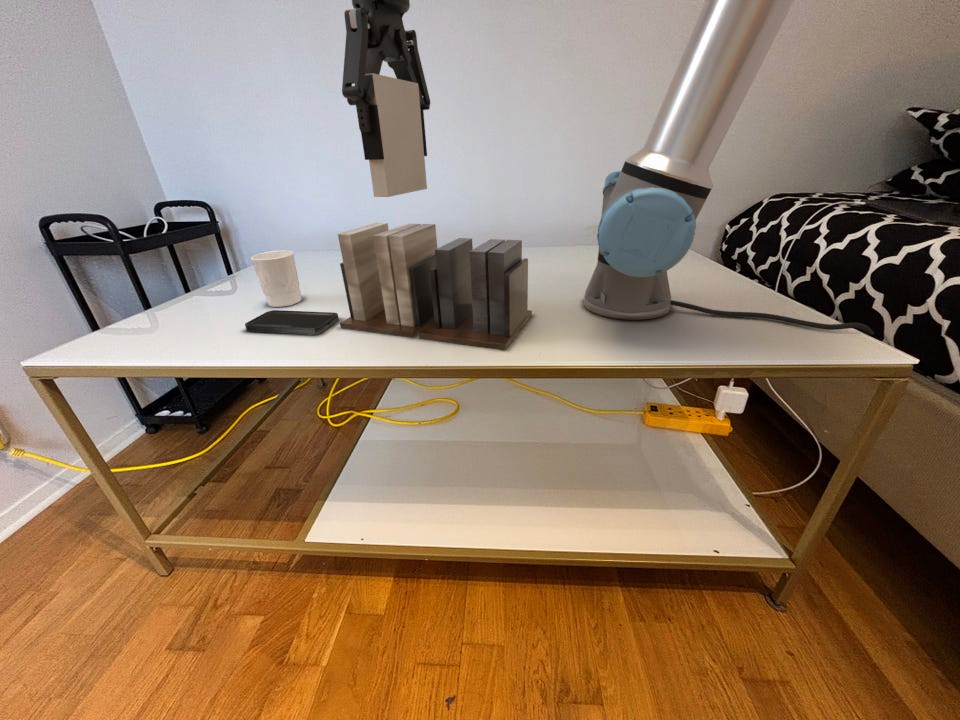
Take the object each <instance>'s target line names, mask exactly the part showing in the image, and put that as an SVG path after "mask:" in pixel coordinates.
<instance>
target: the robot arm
mask: <svg viewBox="0 0 960 720" xmlns="http://www.w3.org/2000/svg"><path fill="white" fill-rule="evenodd" d="M794 2H795V0H705V1H704V2H703V5H702V8H701V10H700V12H699V14H698V17H697V20H696V22H695V24H694V27H693V29H692V32H691V34H690V36H689V38H688V41H687V43H686V46H685V48H684V50H683V52H682V55H681V58H680V59H679V62H678V64H677V67H676V69H675V71H674V74H673V76H672V78H671V81H670V83H669V85H668V87H667V90H666V93H665V95H664V98H663V99H662V102H661V105H660V108H659V109H658V112H657V114H656V116H655V118H654V120H653V121H654V122H653V123H652V125H651V128H650V131H649V133H648V136H647V138H646V140H645V143H644V145H643V147H642V148H641V149H640V150H638V151H637V152H635V153H633V154H632V155H629V156H627V158H625V160H624V163H623V165H622V168H621V170H618V171H617V170H616V171H612V172H610V173H608V174H607V176H606V177H605V180H604V185H603V188H602V197H603V198H602V207H601V216H600V220H599V223H598V227H597V236H596V237H597V239H596V240H597V245H598V251H597V252H598V253H597V263H596V266H595V268H594V271H593V273H592V276H591V278H590V280H589V281H588V282H589V283H588V285H587V286H586V290H585V293H584V298H583V306H584V308H586V309H587V310H588V311H590V312H592V313H594V314H596V315H599V316H603V317H606V318H609V319H616V320H625V321H626V320H627V321H644V320H653V319H657V318H660V317H663V316H664V315H665V316H666V315H667V314H668V313H669V312H670V310H671V306H674V307H678V308H682V309H686V310H687V309H688V310H692V311H696V312H699V313H703V314H704V313H705V314H707V315H713V316H721V317H732V318H734V317H735V318H737V317H738V318H754V319H755V318H756V319H764V320H765V319H766V320H771V321H779V322H783V323H789V324H793V325H797V326H802V327H807V328H812V329H819V330H827V331H838V330H847V329H858V330H860V331H862V332H863V333H864V334H865V335H873V336H874V335H875V332H874V331H873V329H871V327H870V326H868V325H866V324H864V323H860V322H843V323H834V324H833V323H832V324H830V323H820V322H815V321H809V320H805V319H800V318H799V319H798V318H794V317H789V316H785V315H778V314H773V313H765V312H764V313H763V312H755V311H754V312H753V311H731V310H730V311H728V310H718V309H712V308H707V307H703V306H699V305H696V304H691V303H688V302H687V303H686V302H682V301H677V300H673V299H672V294H671V288H670V282H669V275H668V271H669V270H671V269H672V268H674V267H675V266H676V265H677V264H679V263H680V262H681V261H682V260H683V259H684V258H685V257H686V255H687V254H688V252H689V250H690V249H691V247H692V245H693V242H694V239H695V235H696V229H697V223H696V220H697V218H698V216H699V215H700V212H701V211H702V209H703V207H704V206H705V203H706V202H707V200H708V197H709V195H710V193H711V191H712V190H713V188H714V184H713V181H712V177H711V175H710V166H711V165H712V163H713V161H714V158H715V157H716V155H717V153H718V151H719V149H720V147H721V145H722V143H723V141H724V140H725V137H726V135H727V133H728V131H729V129H730V127H731V125H732V123H733V122H734V119H735V118H736V115H737V114H738V112H739V110H740V108H741V106H742V104H743V102H744V99H745V98H746V96H747V94H748V92H749V90H750V88H751V87H752V84H753V82H754V80H755V78H756V77H757V75H758V72H759V70H760V69H761V67H762V64H763V63H764V61H765V59H766V57H767V55H768V53H769V51H770V49H771V48H772V45H773V44H774V41H775V39H776V37H777V35H778V33H779V32H780V29H781V28H782V25H783V24H784V22H785V19H786V17H787V16H788V14H789V12H790V10H791V8H792V6H793V4H794ZM351 5H352V7H353V8H351V9H346V10H344V16H343V17H344V22H345V23H344V24H345V31H346V33H345V43H344V44H345V46H344V57H343V58H344V59H343V72H342V83H341V94H342V96H343V98H345V99H346V101H347V103H348V105H349V106H355V108H356V115H357V122H358V128H359V132H360V137H361V143H362V148H363V149H362V150H363V156H364V160H365V161H369V160H380V159H384V154H383V146H382V138H381V130H380V122H379V114H378V107H377V105H370V104H371V103H372V102H373V98H374V94H375V91H374V83H373V75H365V74H370V73H374V74H378V75H381V74H380V73H381V69H382V65H383V62H384V63H387V65H388V67H389V68H390V69H392V70H393V73H394V76H395V78H396V79H401V80H405V81H410V82H414V83H418V86H419V98H420V110H421V122H422V134H423V146H424V157H428V149H427V137H426V125H425V115H424V114H425V112H424V111H429V110H430V108H431V98H430V94H429V90H428V85H427V82H426V78H425V77H426V76H425V73H424V69H423V64H422V61H421V56H420V53H419V46H418V39H417V38H418V36H417V32H416V30H415V29H410V30H409V29H408V30H406V29H405V26H404V22H403V16H404V15H405V14H406V13H407V12H409V10H410V7H411V4H410V0H351Z"/></svg>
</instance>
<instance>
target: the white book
mask: <svg viewBox="0 0 960 720" xmlns="http://www.w3.org/2000/svg"><path fill="white" fill-rule="evenodd" d="M365 75H373V83H374V91H375V94H374V98H373V102H372V103H371V104H370V105H377V107H378V114H379V122H380V130H381V138H382V146H383V154H384V159H380V160H368V162H369V170H370V177H371V185H372V192H373V197H374V198H389V197H390V198H391V197H395V196H400V195H404V194H410V193H414V192H419V191H424V190H427V189H428V184H427V183H428V182H427V171H426V160H425V156H424V146H423V134H422V122H421V110H420V98H419V86H418V83H414V82H410V81H405V80H401V79H397V78H396V77H391V76H387V75H382V74H379V75H378V74H374V73H370V74H365Z"/></svg>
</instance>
